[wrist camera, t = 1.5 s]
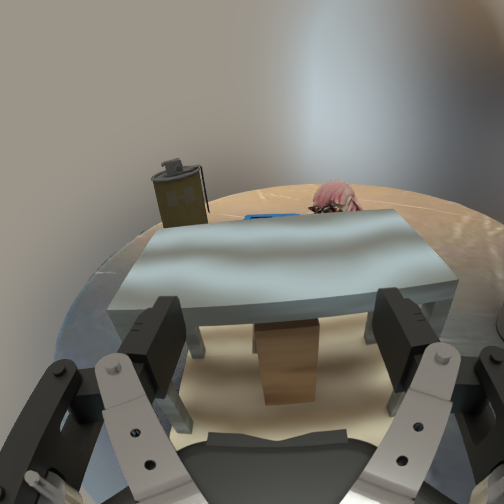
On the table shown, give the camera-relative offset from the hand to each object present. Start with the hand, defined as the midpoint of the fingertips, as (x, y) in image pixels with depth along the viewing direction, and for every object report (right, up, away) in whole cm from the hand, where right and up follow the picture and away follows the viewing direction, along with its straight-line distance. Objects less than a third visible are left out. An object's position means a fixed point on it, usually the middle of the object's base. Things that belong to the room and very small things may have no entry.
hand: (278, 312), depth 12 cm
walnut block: (+3, -12, +18) cm, 22 cm away
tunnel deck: (+3, -14, +19) cm, 24 cm away
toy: (+19, +8, +57) cm, 61 cm away
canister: (-15, +4, +57) cm, 59 cm away
